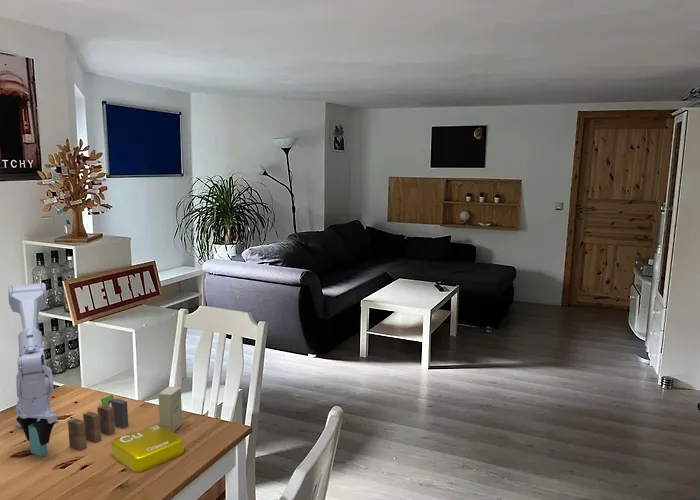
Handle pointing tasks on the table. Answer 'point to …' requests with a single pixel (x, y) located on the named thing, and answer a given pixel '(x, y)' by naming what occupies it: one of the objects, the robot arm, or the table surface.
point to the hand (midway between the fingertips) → (38, 441)
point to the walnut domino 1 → (77, 434)
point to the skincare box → (170, 408)
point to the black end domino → (120, 413)
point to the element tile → (147, 447)
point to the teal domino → (36, 442)
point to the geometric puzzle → (107, 400)
